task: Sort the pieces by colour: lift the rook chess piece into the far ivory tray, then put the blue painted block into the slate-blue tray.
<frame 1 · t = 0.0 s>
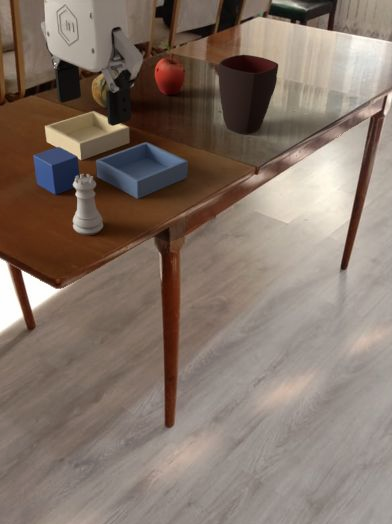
hand: (93, 110, 78), 19 cm above the table, tool pointing down, fingers open, 9 cm apart
blue block: (58, 184, 102), on the table
apple: (168, 94, 136), on the table
rook chess piece: (88, 229, 92), on the table
blue tray: (142, 177, 105), on the table
ivory tray: (88, 142, 115), on the table
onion: (112, 107, 129), on the table
cup: (248, 126, 124), on the table
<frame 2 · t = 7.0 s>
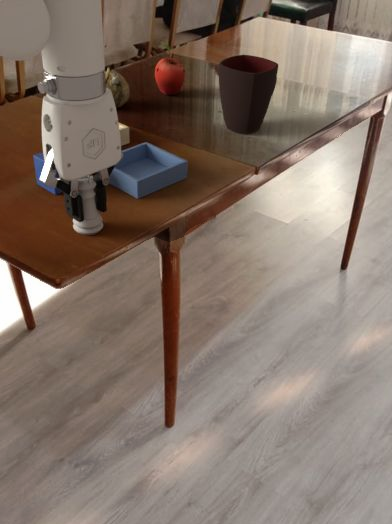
hand: (87, 212, 91), 3 cm above the table, tool pointing down, fingers closed on rook chess piece, 3 cm apart
rook chess piece: (88, 229, 92), on the table, touching gripper
everything else where it was.
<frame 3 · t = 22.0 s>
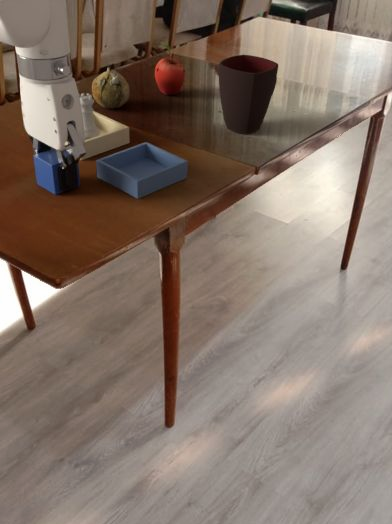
hand: (58, 181, 102), 1 cm above the table, tool pointing down, fingers closed on blue block, 5 cm apart
blue block: (58, 184, 102), on the table, touching gripper
rook chess piece: (88, 141, 115), resting on ivory tray
everything else where it was.
when the fingers open (2 cm above the table, at t = 29.9 s): blue block stays where it is, resting on blue tray.
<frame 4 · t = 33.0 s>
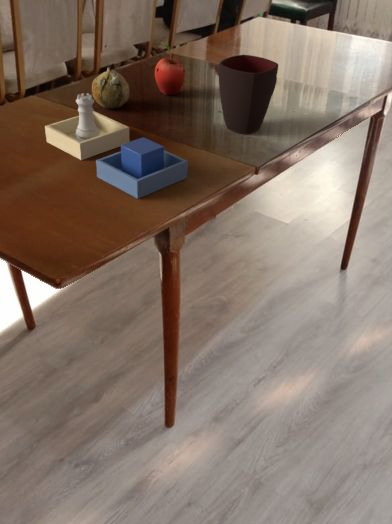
blue block: (142, 174, 105), resting on blue tray
everything else where it was.
at the end: rook chess piece inside the target area in the ivory tray (0.1 cm from its centre), point 0.3 cm above the ivory tray's base; blue block inside the target area in the blue tray (0.1 cm from its centre), point 0.5 cm above the blue tray's base; rook chess piece tilted 0° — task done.
